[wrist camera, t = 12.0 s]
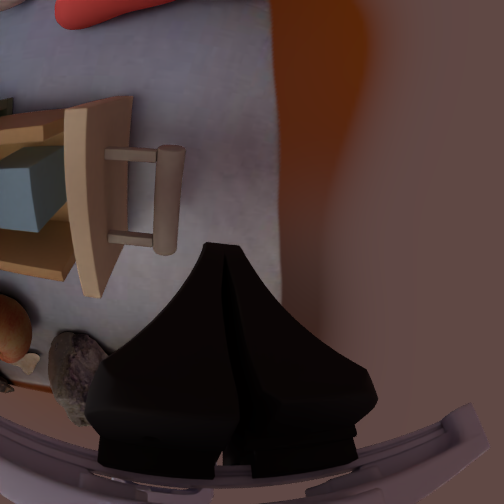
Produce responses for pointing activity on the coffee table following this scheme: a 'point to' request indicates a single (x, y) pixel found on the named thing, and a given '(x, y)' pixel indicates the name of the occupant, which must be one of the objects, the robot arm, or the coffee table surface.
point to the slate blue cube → (31, 187)
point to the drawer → (90, 193)
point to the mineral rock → (73, 372)
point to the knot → (9, 4)
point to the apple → (13, 330)
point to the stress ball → (96, 11)
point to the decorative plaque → (5, 386)
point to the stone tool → (27, 362)
